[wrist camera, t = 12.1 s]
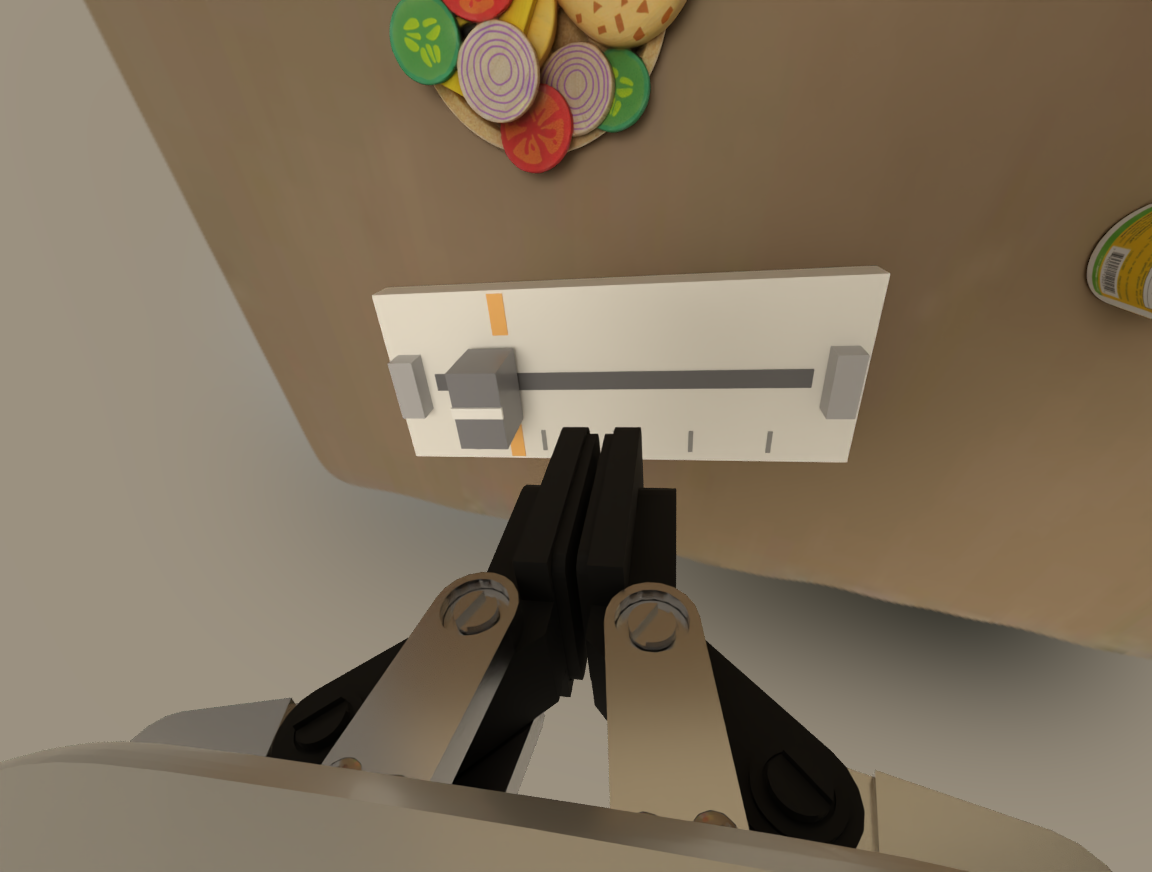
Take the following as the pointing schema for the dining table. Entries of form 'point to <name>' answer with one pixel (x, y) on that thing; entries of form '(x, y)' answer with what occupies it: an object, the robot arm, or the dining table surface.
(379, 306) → the console board
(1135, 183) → the dining table surface
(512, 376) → the fader knob
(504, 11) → the toy food set
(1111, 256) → the supplement bottle
